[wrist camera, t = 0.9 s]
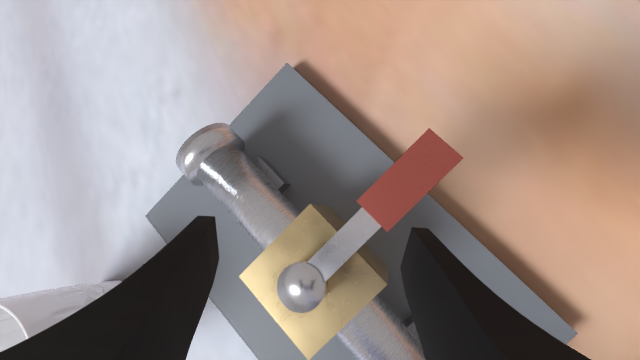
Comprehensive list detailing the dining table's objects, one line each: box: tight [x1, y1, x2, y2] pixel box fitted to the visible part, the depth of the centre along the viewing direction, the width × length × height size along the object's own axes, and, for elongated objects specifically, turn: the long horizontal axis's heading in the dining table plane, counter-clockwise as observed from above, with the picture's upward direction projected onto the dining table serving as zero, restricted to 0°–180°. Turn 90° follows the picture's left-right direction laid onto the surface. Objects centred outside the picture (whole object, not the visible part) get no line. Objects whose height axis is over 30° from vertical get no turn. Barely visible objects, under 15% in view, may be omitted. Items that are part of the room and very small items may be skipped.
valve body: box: [176, 123, 425, 360], centre depth 22 cm, size 25×6×6 cm, turn 45°
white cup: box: [0, 280, 122, 352], centre depth 25 cm, size 8×8×10 cm
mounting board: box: [146, 63, 578, 360], centre depth 26 cm, size 28×18×1 cm, turn 45°
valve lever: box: [277, 128, 463, 313], centre depth 18 cm, size 12×3×2 cm, turn 135°
